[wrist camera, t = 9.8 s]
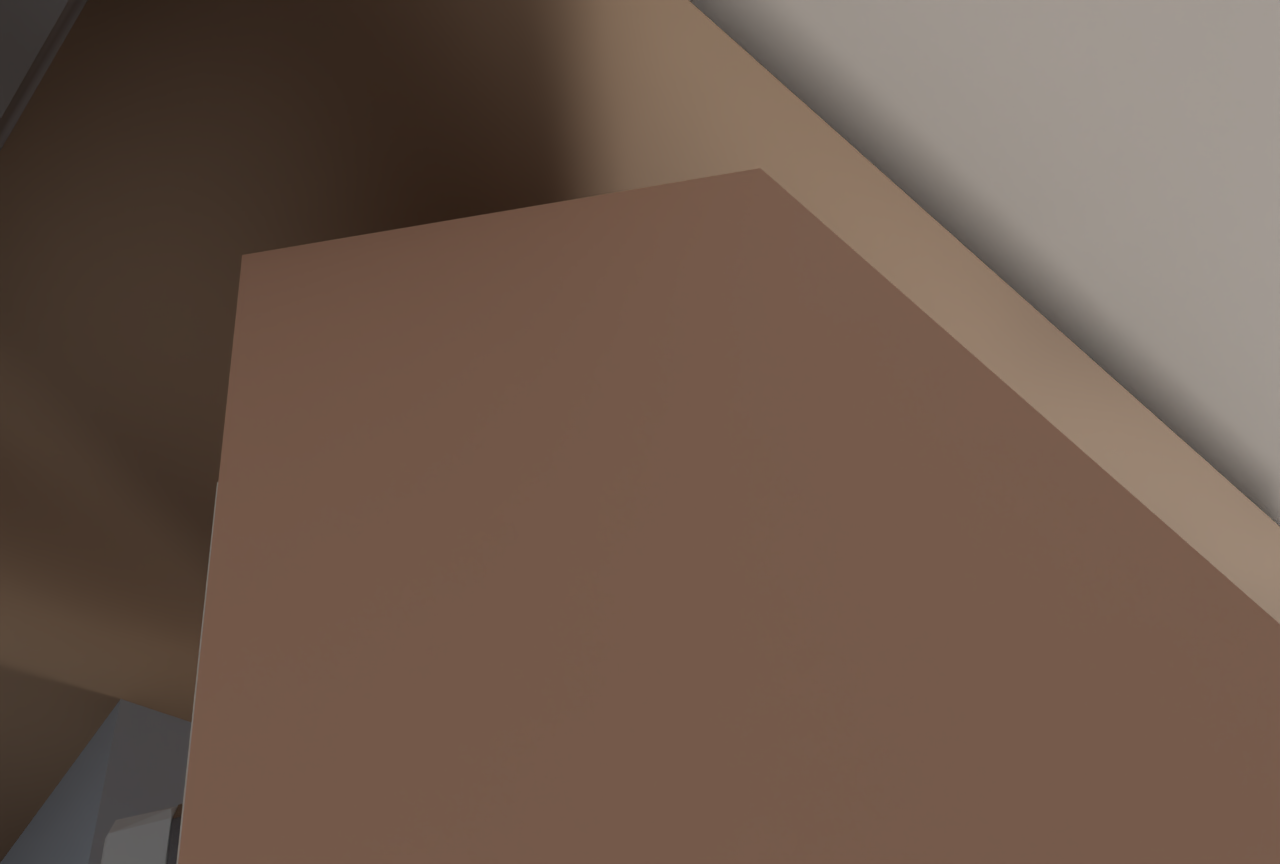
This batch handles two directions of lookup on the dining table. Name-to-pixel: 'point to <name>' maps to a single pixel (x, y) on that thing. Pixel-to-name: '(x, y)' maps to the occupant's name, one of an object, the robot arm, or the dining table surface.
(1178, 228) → the dining table surface
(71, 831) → the slate-blue carton
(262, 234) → the shelf plank
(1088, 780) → the terracotta carton
